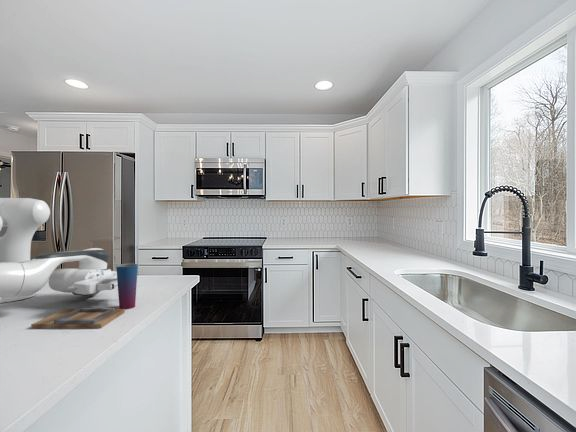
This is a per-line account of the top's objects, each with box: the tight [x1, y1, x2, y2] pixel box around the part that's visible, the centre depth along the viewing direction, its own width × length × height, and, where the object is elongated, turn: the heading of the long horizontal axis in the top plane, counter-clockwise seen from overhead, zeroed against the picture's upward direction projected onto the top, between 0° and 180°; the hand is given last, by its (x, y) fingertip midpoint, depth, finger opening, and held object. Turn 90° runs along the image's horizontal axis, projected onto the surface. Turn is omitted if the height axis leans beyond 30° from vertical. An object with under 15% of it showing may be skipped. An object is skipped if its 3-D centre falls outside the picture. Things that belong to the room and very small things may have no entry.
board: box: [30, 307, 126, 329], centre depth 98 cm, size 20×14×2 cm
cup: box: [115, 263, 139, 310], centre depth 111 cm, size 7×7×15 cm
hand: (122, 283), depth 111 cm, fingers open, 8 cm apart
